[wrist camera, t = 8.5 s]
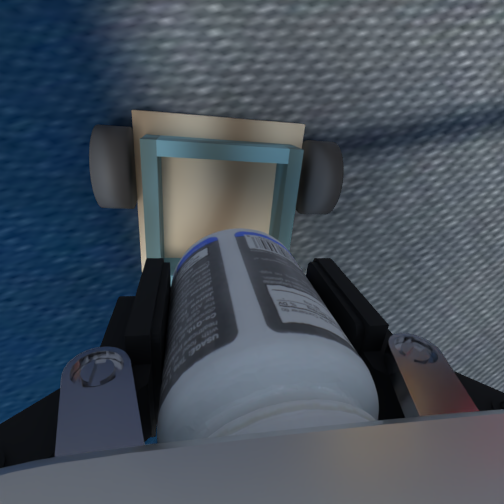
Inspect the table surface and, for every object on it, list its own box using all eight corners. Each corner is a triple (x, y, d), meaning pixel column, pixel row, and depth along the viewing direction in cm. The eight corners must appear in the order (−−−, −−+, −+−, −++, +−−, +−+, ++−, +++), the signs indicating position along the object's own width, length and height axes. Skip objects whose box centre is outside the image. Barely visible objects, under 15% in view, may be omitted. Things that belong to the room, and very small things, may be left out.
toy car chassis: (322, 125, 21) (360, 132, 16) (284, 362, 29) (302, 411, 24) (105, 107, 18) (76, 109, 14) (130, 371, 27) (117, 428, 22)
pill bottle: (194, 347, 13) (196, 678, 6) (152, 245, 11) (67, 561, 3) (305, 314, 13) (450, 590, 6) (286, 209, 11) (476, 430, 4)
